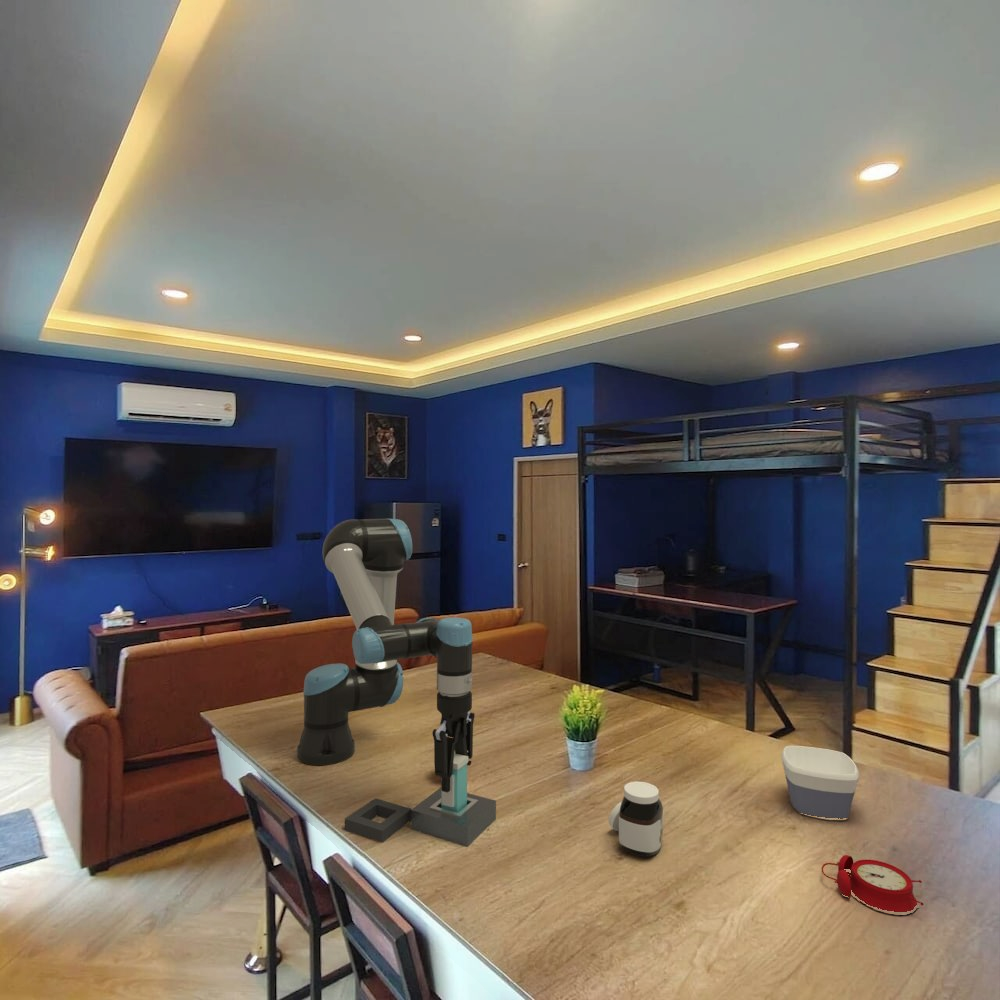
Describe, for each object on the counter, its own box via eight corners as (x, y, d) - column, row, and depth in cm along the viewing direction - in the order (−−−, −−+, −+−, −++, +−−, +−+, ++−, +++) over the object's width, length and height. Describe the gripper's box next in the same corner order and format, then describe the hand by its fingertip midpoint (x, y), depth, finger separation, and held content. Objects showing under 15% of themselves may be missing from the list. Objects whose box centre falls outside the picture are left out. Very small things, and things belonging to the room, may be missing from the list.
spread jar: (651, 865, 117) (652, 804, 117) (596, 847, 123) (596, 789, 123) (670, 836, 127) (670, 780, 127) (618, 821, 133) (618, 767, 133)
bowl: (849, 798, 143) (850, 750, 143) (865, 831, 129) (865, 779, 129) (778, 787, 148) (778, 742, 148) (785, 819, 134) (785, 768, 134)
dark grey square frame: (344, 829, 129) (344, 818, 129) (375, 808, 138) (375, 798, 138) (382, 842, 124) (382, 830, 124) (411, 819, 133) (411, 808, 133)
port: (410, 828, 129) (410, 808, 129) (442, 803, 140) (442, 785, 140) (467, 846, 123) (467, 825, 123) (495, 818, 133) (496, 799, 133)
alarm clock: (927, 906, 100) (826, 857, 108) (916, 940, 101) (817, 889, 109) (923, 873, 109) (830, 830, 117) (914, 904, 110) (822, 860, 117)
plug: (439, 817, 130) (440, 760, 130) (450, 807, 134) (451, 752, 134) (457, 822, 128) (457, 764, 128) (468, 812, 132) (468, 756, 132)
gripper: (447, 706, 122) (447, 823, 122) (489, 683, 137) (488, 787, 137) (416, 700, 126) (416, 814, 126) (460, 678, 141) (460, 780, 141)
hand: (454, 799), depth 131 cm, fingers open, 4 cm apart
